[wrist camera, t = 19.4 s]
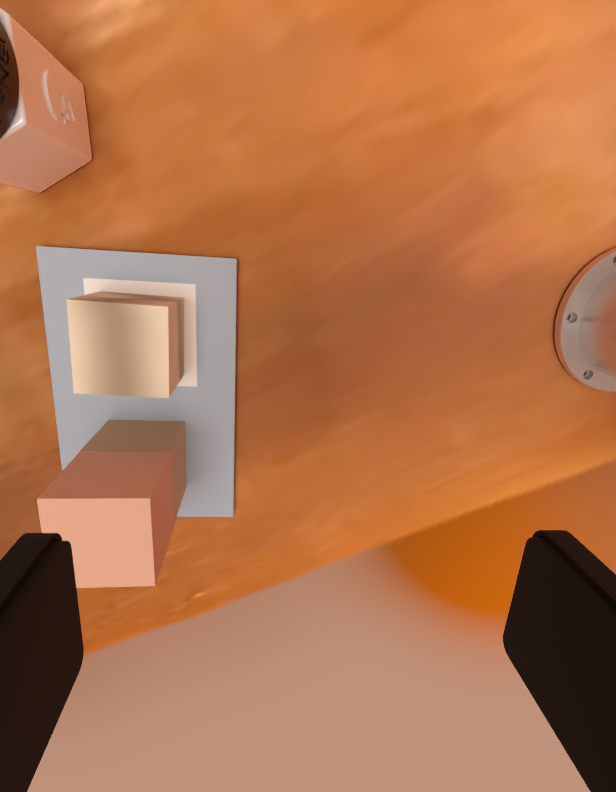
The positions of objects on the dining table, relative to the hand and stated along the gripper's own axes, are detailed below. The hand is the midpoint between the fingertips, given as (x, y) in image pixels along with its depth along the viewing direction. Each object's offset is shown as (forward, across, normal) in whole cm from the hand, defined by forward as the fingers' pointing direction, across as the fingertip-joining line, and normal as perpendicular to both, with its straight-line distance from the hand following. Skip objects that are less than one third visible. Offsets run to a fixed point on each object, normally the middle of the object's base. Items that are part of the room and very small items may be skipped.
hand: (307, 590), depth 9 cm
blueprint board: (+28, +10, +5) cm, 30 cm away
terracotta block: (+21, +10, +10) cm, 26 cm away
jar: (+28, +17, -14) cm, 36 cm away
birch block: (+27, +10, 0) cm, 29 cm away
